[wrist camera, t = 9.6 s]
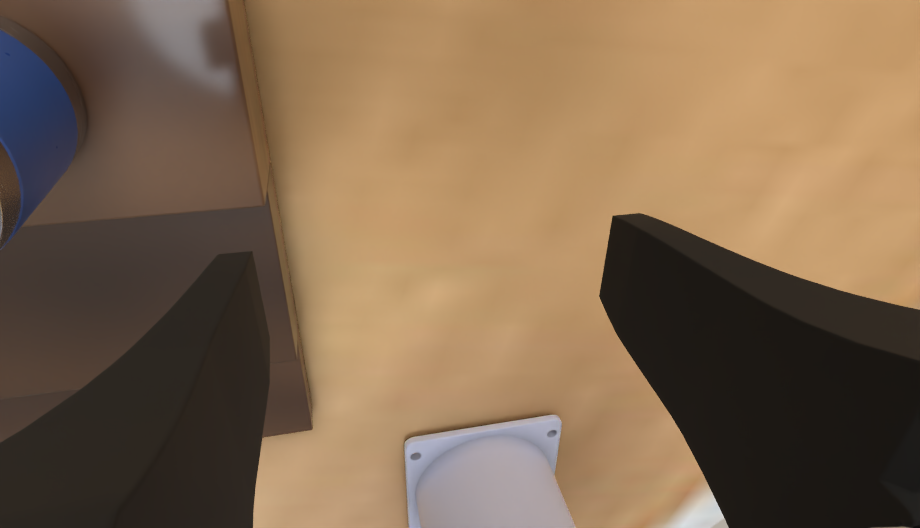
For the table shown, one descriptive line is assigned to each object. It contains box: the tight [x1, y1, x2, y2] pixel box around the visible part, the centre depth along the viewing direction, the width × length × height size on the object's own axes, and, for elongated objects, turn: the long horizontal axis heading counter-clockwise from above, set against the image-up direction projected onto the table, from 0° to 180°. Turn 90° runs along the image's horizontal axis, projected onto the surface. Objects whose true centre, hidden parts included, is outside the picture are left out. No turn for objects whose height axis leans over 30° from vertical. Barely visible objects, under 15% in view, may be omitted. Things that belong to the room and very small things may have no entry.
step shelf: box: [0, 0, 313, 443], centre depth 19 cm, size 19×12×4 cm, turn 179°
